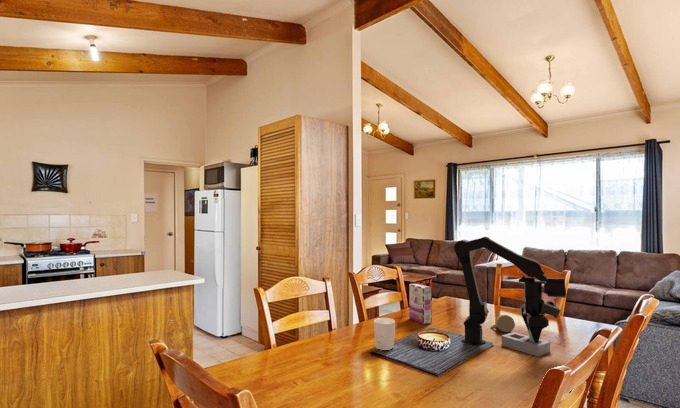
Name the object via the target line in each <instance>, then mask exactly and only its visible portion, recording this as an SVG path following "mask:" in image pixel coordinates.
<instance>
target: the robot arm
mask: <svg viewBox="0 0 680 408" xmlns="http://www.w3.org/2000/svg"><path fill="white" fill-rule="evenodd" d="M479 249H486V250H488V251H490V252H491V253H494V254H495V255H497V256H498V257H500V258H502V259H504V260H506V261H508V262H510V263H511V264H512V265H514V266H515V267H517V268H518V269H519V270H520V272H522V273H523V274H522V276H521V277H520V278H519V279H518V283H524V284H523V287H524V289H523V290H524V291H523V294H524V295H523V301H524V304H521V305H520V306H519V312H520V315H521V317H522V319H523V321H524V324H525V327H526V329H527V332H528V333H529V329H530V332H531V335H532V337H533V340H534V342H535V343H538V342H539V339H540V338H541V335H542V331H543V329H545V328H547V327H548V326H550V325H549V319H548V318H547V316H545V314H546V315H549V316H552V317H553V318H555V319H558V318H559V315H560V313H561V309H560V308H559V307H558V306H556V305H555V303H554V302H553V301H551V300H547V301H546V302H545V300H544V299H543V293H544V294H545V295H547V297H548V298H549V297H550V298H561V299H566V298H567V288H566V282H565V281H566V279H565V278H564V277H548V276H547V274H546V273H545V272H544V271H543V269H542V264H541V263H540V262H539V261H538V260H536V259H535V258H534V259H533V258H530V257H528V256H525V255H521V254H518V253H517V252H515V251H513V250H511V249H509V248H508V247H506V246H504V245H501V244H500V243H498V242H496V241H495V240H493V239H491V238H490V237H488V236H482V237H481V238H476V239H472V240H467V239H461V240H459V241H457V242H455V244H454V246H453V250H454V253H455V255H456V257H457V260H458V261H459V263H460V265H461V268H462V273H463V278H464V281H465V287H466V292H467V294H468V295H467V296H468V301H469V304H468V305H469V307H468V314H469V315H468V316H467V318H465V320H464V322H463V325H464V338H463V339H461V342H463V343H466V344H468V343H469V345H471V344H472V346H474V345H476V346H479V345H482V344H485V343H486V341H485V340H483V327H482V326H483V324H484V323H485V322H486V320H487V319H488V316H489V315H488V314H489V312H490V311H489V309H488V304H487V301H484V302H483V300H482V297H481V295H480V291H479V288H478V282H477V279H476V273H475V270H474V265H473V251H476V250H479ZM526 276H527V277H526Z"/></svg>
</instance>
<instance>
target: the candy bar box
mask: <svg viewBox="0 0 680 408" xmlns="http://www.w3.org/2000/svg"><path fill="white" fill-rule="evenodd" d="M408 287H409V289H408V290H409V291H408V292H409V293H408V295H409V296H408V298H409V304H408V306H409V307H408V309H409V310H408V311H409V313H408V314H409V315H408V317H409V319H410V320H412V321H414V322H417V323H418V324H419V323H420V324H422V325H429V324H433V323H432V321H433V319H432V318H433V316H432V315H433V311H432V309H433V307H432V303H433V302H432V298H433V296H432V295H433V294H432V293H433V292H432V286H427V285H425V284H420V283H409V286H408Z"/></svg>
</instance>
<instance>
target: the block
mask: <svg viewBox="0 0 680 408" xmlns="http://www.w3.org/2000/svg"><path fill="white" fill-rule="evenodd" d="M501 346H503V347H505V348H506V347H507V348H510V349H512V350H516V351H518V352H523V353H525V354H529V355H532V356H535V357H540V356H543V355H547V354H548V353H550V352H551V341H548V340H544V339H540V338H539V343H538V344H534V343H531V342H529V335H526V334H522V333H519V332H515V331H511V332H508V333H505V334H502V335H501Z"/></svg>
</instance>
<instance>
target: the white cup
mask: <svg viewBox="0 0 680 408" xmlns="http://www.w3.org/2000/svg"><path fill="white" fill-rule="evenodd" d="M395 320H396V319H393V318H389V317H380V318H379V317H377V318H375V319H374V320H373V330H374V331H373V333H374V341H375V342H374V344H375V345H374V346H375V349H376V350H378V349H381V350H380V351H382V350H389V351H391V350H390V349H392V348H393V349H394V346H395V345H394V344H395V336H396V335H395V333H396V329H395V328H396V321H395ZM393 349H392V350H393Z"/></svg>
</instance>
